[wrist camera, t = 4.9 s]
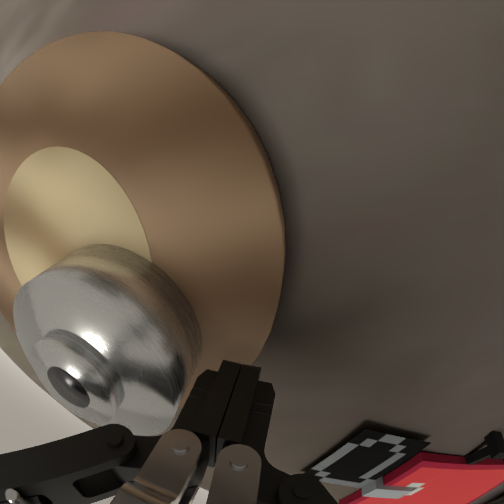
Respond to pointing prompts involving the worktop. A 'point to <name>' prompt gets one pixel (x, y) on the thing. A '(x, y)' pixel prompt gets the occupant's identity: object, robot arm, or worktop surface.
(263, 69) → the worktop surface
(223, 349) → the turntable
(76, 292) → the cover
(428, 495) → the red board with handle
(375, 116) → the worktop surface
